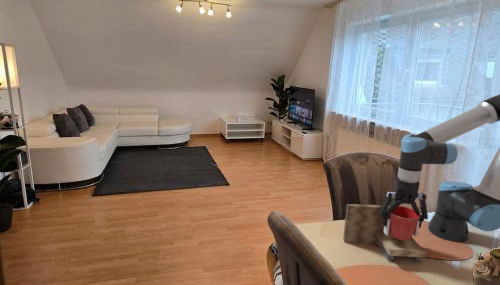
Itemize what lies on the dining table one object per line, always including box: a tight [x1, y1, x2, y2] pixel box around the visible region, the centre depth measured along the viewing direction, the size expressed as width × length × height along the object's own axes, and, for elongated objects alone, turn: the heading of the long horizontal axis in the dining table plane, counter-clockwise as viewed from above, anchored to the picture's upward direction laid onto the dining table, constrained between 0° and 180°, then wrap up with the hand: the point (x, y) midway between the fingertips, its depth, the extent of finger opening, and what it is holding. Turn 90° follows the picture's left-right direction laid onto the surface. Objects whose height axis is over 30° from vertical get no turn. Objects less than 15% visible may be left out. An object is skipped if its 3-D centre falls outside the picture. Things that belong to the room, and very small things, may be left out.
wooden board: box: [342, 203, 413, 245], centre depth 129 cm, size 26×2×16 cm, turn 88°
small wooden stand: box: [376, 233, 428, 263], centre depth 122 cm, size 13×14×6 cm
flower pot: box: [389, 205, 421, 240], centre depth 120 cm, size 11×11×10 cm
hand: (400, 234), depth 121 cm, fingers closed on flower pot, 10 cm apart
